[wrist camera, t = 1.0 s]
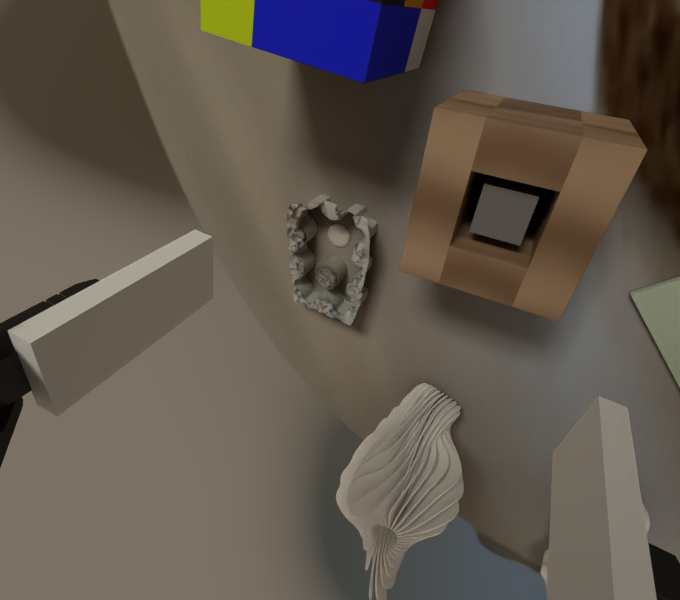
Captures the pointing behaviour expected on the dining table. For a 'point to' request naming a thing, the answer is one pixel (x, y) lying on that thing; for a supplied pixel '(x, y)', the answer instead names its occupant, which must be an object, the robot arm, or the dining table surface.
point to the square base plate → (663, 319)
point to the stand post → (505, 209)
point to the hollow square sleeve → (525, 167)
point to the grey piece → (334, 267)
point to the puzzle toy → (329, 32)
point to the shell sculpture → (403, 481)
